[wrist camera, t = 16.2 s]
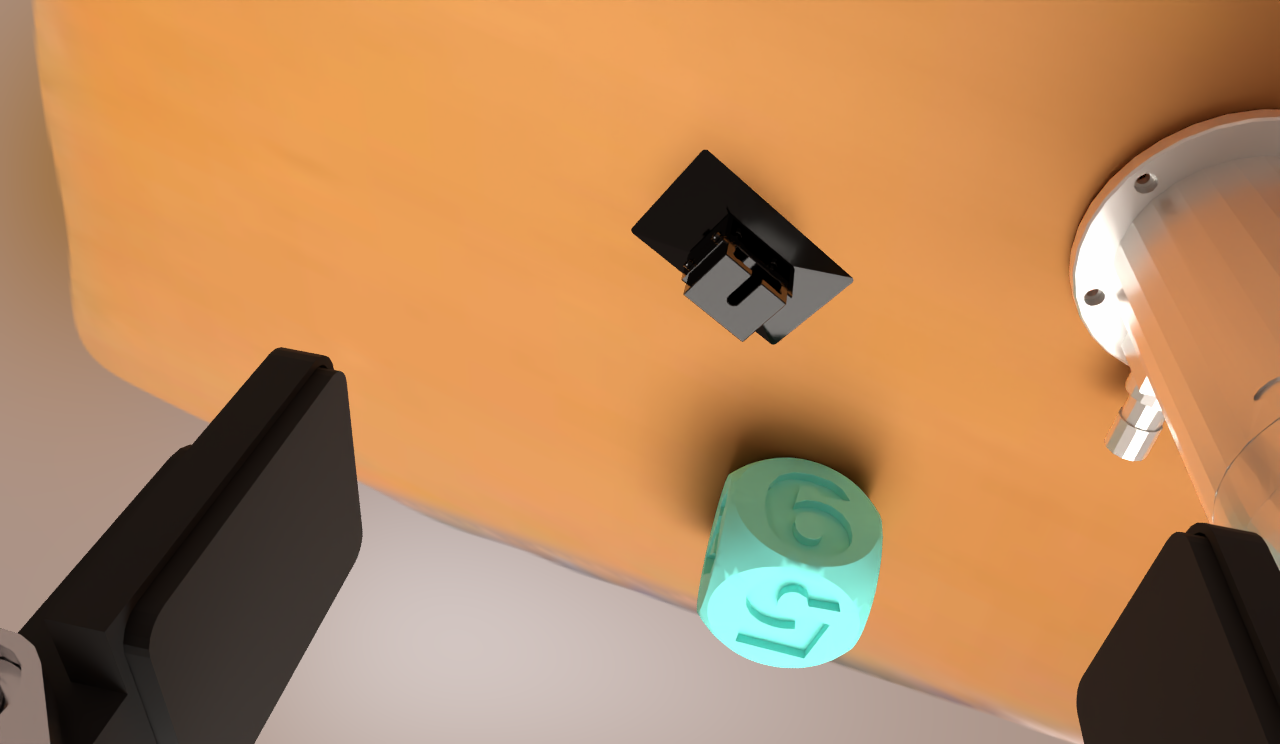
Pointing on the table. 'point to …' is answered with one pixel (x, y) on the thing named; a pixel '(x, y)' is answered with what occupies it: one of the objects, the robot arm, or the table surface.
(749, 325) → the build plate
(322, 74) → the table surface
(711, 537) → the decorative dice
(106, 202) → the table surface
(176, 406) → the table surface
